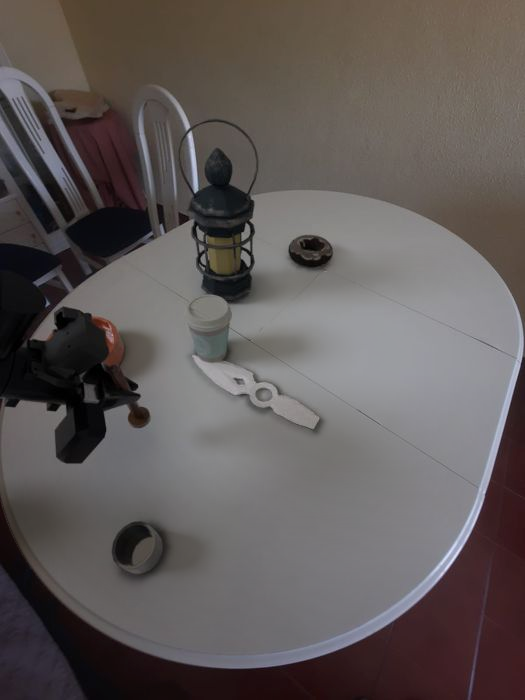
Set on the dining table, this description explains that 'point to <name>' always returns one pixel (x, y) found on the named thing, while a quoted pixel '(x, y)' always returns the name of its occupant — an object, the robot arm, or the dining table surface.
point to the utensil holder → (137, 547)
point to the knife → (280, 404)
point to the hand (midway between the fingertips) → (138, 392)
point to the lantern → (222, 224)
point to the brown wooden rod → (137, 414)
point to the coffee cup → (209, 326)
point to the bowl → (109, 341)
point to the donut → (313, 258)
